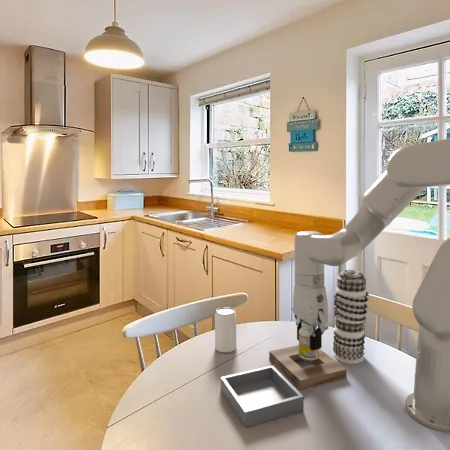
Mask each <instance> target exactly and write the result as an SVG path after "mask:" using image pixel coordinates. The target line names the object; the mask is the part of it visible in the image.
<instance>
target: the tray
mask: <svg viewBox="0 0 450 450" xmlns="http://www.w3.org/2000/svg"><path fill="white" fill-rule="evenodd" d="M285 377H286V376H285V375H284V374H283V373H282V372H281V371H280V370H279V369H278V368H277V367H275V365H274V364H273V365H268V366H264V367H260V368H255V369H250V370H246V371H242V372H238V373H233V374H228V375H224V376H220V392H221V393H222V394H223V397H224V398H225V399H226V401H227V403H228V404H229V406H230V407H231V408H232V410H233V412H234V413H235V414H236V416H237V419H238V420H240V423H241V424H242V426H243V427H244V429H246V428H249V427H253V426H257V425H261V424H264V423H267V422H271V421H275V420H277V419H281V418H284V417H288V416H291V415H295V414H296V415H297V414H299V413H302V412H304V404H305V403H304V402H305V401H304V400H305V396H304V395H303V394H302V393H301V392H300V391H299V389H298V388H296V387H295V386H294V385H293V383H291V382H290V380H288V379H287V377H286V378H285Z"/></svg>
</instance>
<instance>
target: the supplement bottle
mask: <svg viewBox="0 0 450 450" xmlns="http://www.w3.org/2000/svg"><path fill="white" fill-rule="evenodd" d="M315 323H317V321H316V322H315ZM301 326H302V328H300V330H299V341H298V345H299V356H300V357H301V358H303V359H305V360H306V361H311V360H315V359H317V358H318V357H319V349H317V350H311V349H310V335H312V333H311V328H310V324H309V323H307V322H305V321H304V320H302V323H301ZM317 328H318V325H317V326H315V330H316V329H317Z"/></svg>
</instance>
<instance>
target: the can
mask: <svg viewBox="0 0 450 450" xmlns="http://www.w3.org/2000/svg"><path fill="white" fill-rule="evenodd" d="M214 347H215V350H216V351H217V352H219V353H222V354H230V353H232V352H234V351H235V350H236V349H237V314H236V312H235V308H233V307H228V306H224V307H223V306H222V307H219V308H217V309H216V310H215V314H214Z"/></svg>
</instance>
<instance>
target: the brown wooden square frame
mask: <svg viewBox="0 0 450 450" xmlns="http://www.w3.org/2000/svg"><path fill="white" fill-rule="evenodd" d="M268 352H269V354H268V355H269V357H268V358H269V361H270V362H271V363H272V364H273V366H274V367H275V366H276V367H275V368H276V369H277V370H278V371H279V372H281V373H282V374H283V375H284V376H285V377H286V378H288V379H289V381H291V382H292V384H294V385H295V386H296V387H297V389H298V390H300V391H302V390H305V389H309V388H313V387H318V386H321V385H324V384H328V383H332V382H336V381H340V380H344V379H348V377H347V376H348V375H347V373H348V369H347V367H345V366H344V365H342V364H341V363H339V361H338V360H337V359H334V357H331V355H329V354H327V353H326V352H325V351H323V350H322V348H321V349H319V357H318V358H317V359H315V360H310V362H312V363H313V364H314V365H312V366H309V367H304V368H302V367H301V366H300V365H299V364H298V363H302V362H306V361H307V360H305V359H303V358H301V357H300V356H299V344H297V345H293V346H287V347H283V348H279V349H273V350H269V351H268Z"/></svg>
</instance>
